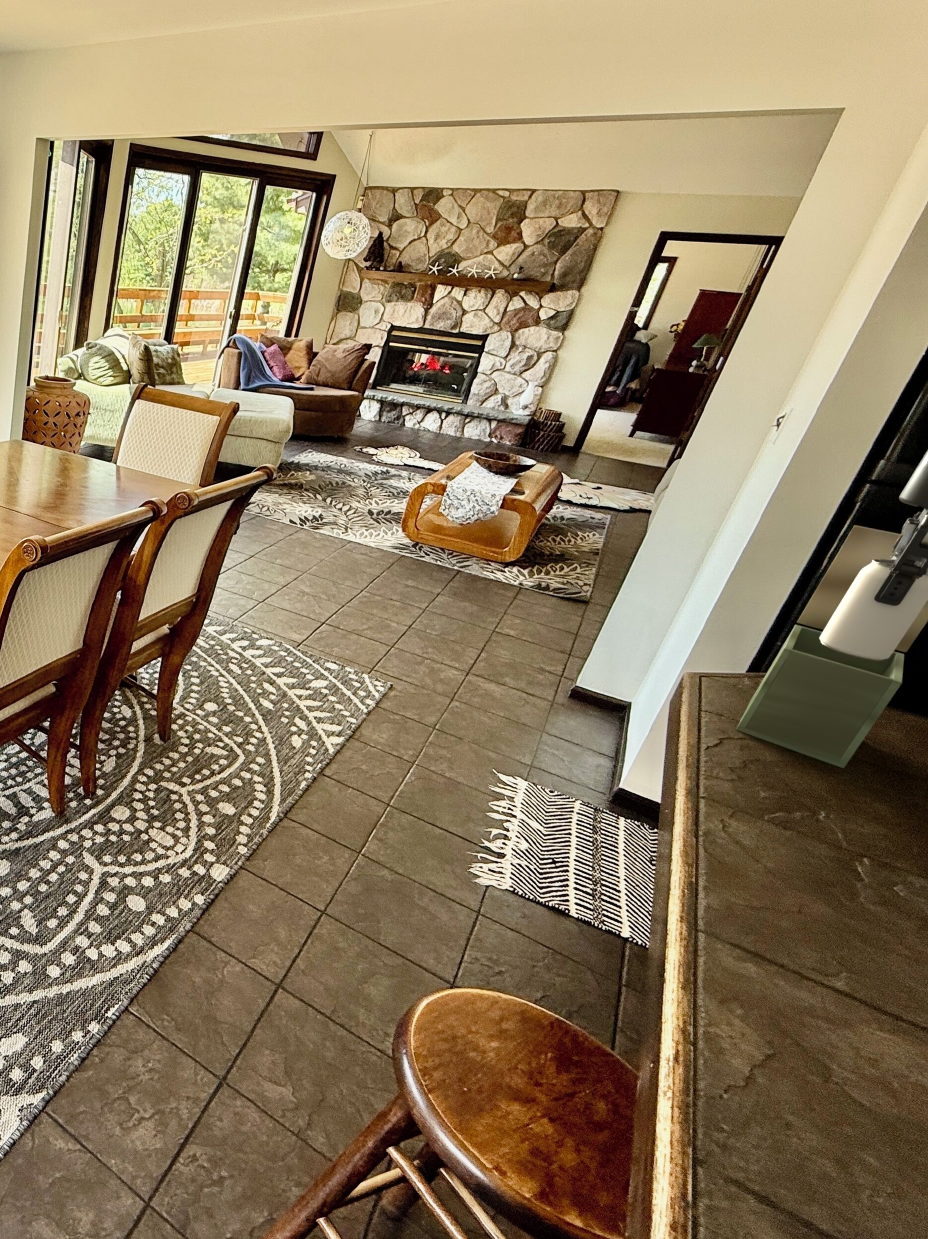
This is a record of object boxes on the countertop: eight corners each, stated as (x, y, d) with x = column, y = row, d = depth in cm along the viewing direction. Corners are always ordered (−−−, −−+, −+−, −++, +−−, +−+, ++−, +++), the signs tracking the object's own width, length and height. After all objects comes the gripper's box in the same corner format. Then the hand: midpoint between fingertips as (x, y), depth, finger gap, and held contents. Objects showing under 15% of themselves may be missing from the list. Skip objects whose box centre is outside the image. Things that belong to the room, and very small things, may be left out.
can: (896, 666, 94) (955, 580, 89) (827, 651, 97) (880, 566, 92) (875, 649, 99) (929, 566, 94) (809, 634, 102) (858, 553, 97)
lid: (975, 550, 102) (975, 549, 102) (854, 526, 110) (854, 525, 110) (906, 652, 109) (906, 650, 110) (796, 622, 117) (797, 621, 118)
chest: (843, 768, 106) (902, 682, 100) (735, 729, 114) (784, 648, 108) (850, 734, 115) (904, 654, 110) (750, 700, 123) (795, 624, 118)
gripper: (1022, 485, 81) (930, 621, 88) (1010, 472, 90) (927, 596, 97) (920, 469, 87) (841, 598, 93) (918, 458, 95) (845, 577, 102)
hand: (885, 597), depth 95 cm, fingers closed on can, 6 cm apart
